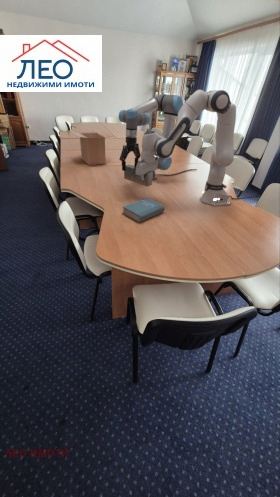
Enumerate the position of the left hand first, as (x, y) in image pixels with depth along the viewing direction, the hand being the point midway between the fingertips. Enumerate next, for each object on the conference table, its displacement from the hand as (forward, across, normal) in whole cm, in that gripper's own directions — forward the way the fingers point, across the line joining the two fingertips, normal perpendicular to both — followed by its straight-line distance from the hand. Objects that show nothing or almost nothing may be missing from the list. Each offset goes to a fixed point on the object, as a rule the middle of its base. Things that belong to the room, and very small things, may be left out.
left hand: (130, 168), depth 161 cm
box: (+19, +38, +84) cm, 94 cm away
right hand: (+4, 0, -15) cm, 15 cm away
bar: (+8, 0, -8) cm, 11 cm away
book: (+19, -17, -28) cm, 38 cm away
